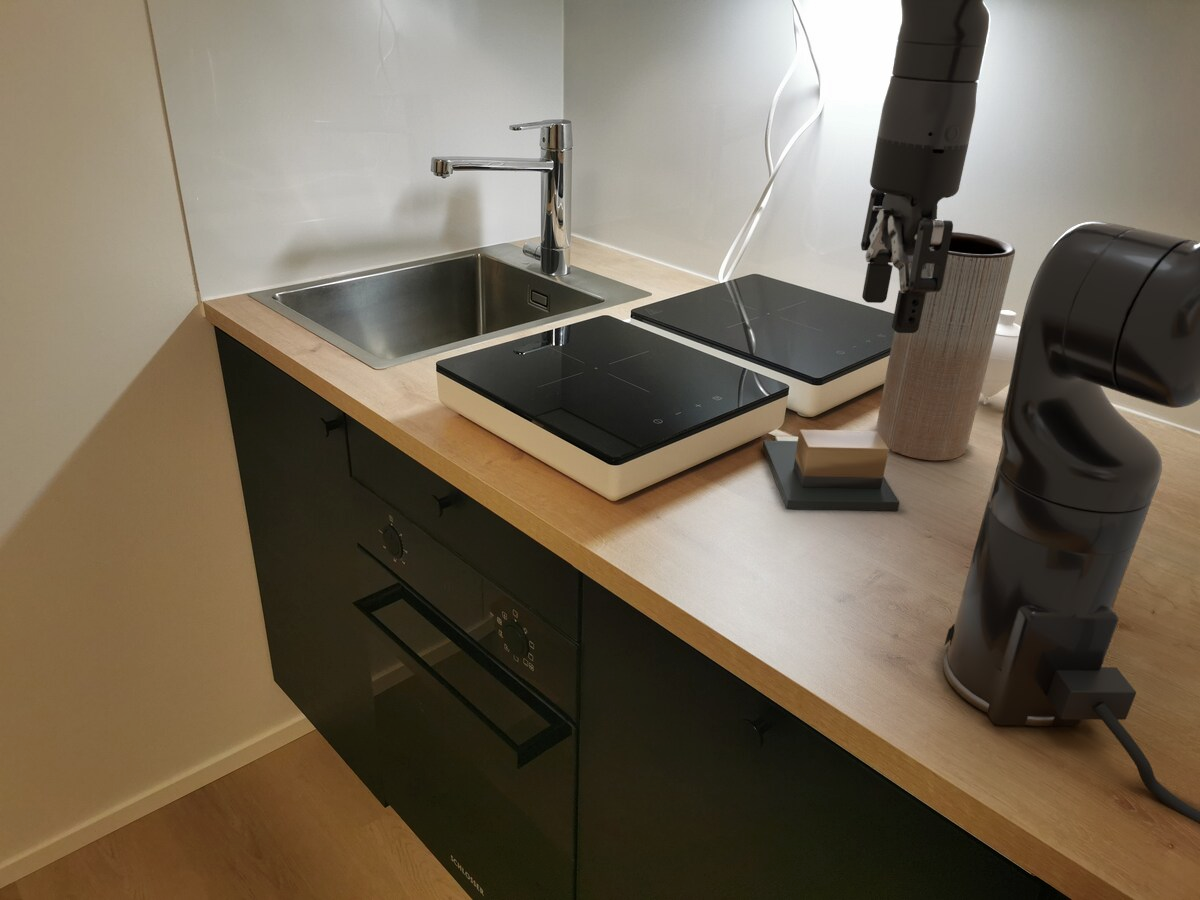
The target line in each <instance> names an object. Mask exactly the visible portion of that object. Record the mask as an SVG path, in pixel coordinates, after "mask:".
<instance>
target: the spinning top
mask: <svg viewBox="0 0 1200 900" xmlns="http://www.w3.org/2000/svg"><path fill="white" fill-rule="evenodd" d="M1016 317H1017V312H1015V311H1013V310H1009V309H1001V313H1000V317H999V321H998V325H997V329H996V333H995V337H994V341H993V345H992V349H991V353H990V357H989V361H988V366H987V370H986V374H985V378H984V382H983V386H982V390H981V395H982V396H983V397H984V401H983V404H984V405H987V404H988V401H989V398H992V397H993V396H995V395H997V394H999V392H1001V391H1003V390H1004V389H1006V387H1009V385H1010V380H1011V375H1012V370H1013V365H1014V360H1015V354H1016V349H1017V344H1018V338H1019V333H1020V328H1021V325H1019V324H1017V323H1015V320H1016Z"/></svg>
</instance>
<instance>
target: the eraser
mask: <svg viewBox="0 0 1200 900" xmlns="http://www.w3.org/2000/svg"><path fill="white" fill-rule="evenodd" d="M797 437H798V442H797V449H796V455H795V462H794V470H795V472H796V475H797V477H798V479H799V481H800V484H801V486H802V487H825V488H875V489H881V486H882V481H883V477H885V476H884V475H885V470H886V464H887V461H888V456H889V451H890V449H889V448H888V447H887V445H886V444H885V442H884V441H883V439H882V438H881V436H880V435H879V433H878V432H877V431H876V430H843V429H839V430H838V429H835V430H834V429H799V430H798V436H797Z"/></svg>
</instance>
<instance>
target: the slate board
mask: <svg viewBox="0 0 1200 900" xmlns="http://www.w3.org/2000/svg"><path fill="white" fill-rule="evenodd" d="M797 442H798V441H776V440H763V441H762V451H763V453H764V456H765V458H766V460H767V464H768V465H769V468H770V471H771V474H772V475H773V478H774V480H775V483H776V486H777V488H778V490H779V494H780V495H781V498H782V501H783V503H784V506H785V508H786V509H787V510H830V511H831V510H832V511H833V510H835V511H836V510H837V511H883V512H885V511H888V512H889V511H890V512H891V511H892V512H898V511H899V507H900V501H899V499H898V497H897V496H896V494H895V492H894V491H893V490H892V488H891V486H890V484H889V483H888V481H887V479H886V478H885V476H883V481H882V486H881V489H875V488H825V487H802V486H801V484H800V481H799V479H798V477H797V475H796V472H795V470H794V462H795V455H796V449H797Z"/></svg>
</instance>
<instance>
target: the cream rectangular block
mask: <svg viewBox="0 0 1200 900" xmlns="http://www.w3.org/2000/svg"><path fill="white" fill-rule="evenodd" d="M774 439H775V441H798V436H788V435H787V436H784V435H783V436H779V435H776V436H775V438H774Z"/></svg>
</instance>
